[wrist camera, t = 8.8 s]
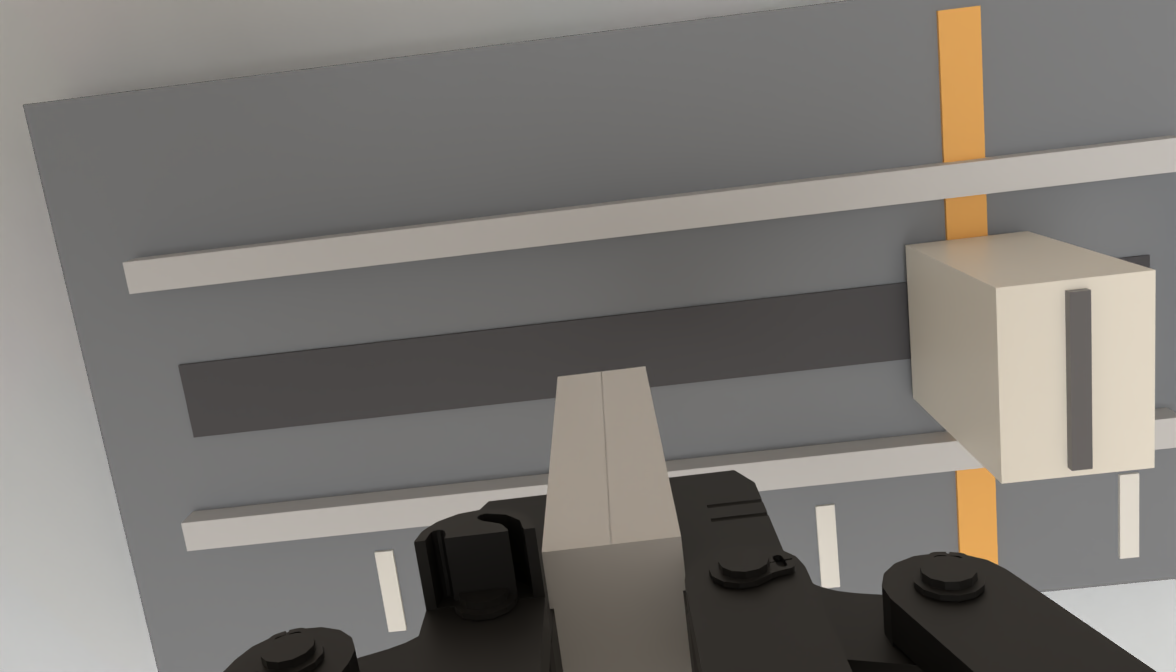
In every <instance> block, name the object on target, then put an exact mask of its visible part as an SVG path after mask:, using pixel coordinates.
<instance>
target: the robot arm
mask: <svg viewBox="0 0 1176 672" xmlns="http://www.w3.org/2000/svg"><path fill="white" fill-rule="evenodd" d="M414 546H415V551H416V557H417V563H418V568H419V574H420V579H421V585H422V590H423V596H424V601H425V607H426V613H425V616H424V619H423V623H422V626H421V630H420V633H419V636H418V637H416V638H414V639H412V640H410V641H408V642H406V643H403V644H401V645H398V646H395V647H392V648H389V649H387V650H383V651H380V652H376V653H373V654H370V655H366V656H363V657H359V658H357V655H356V650H355V646H354V643H353V639H352V637H351V636H349V635H347V634H346V633H344V632H343V631H341V630H338V629H331V628H325V627H316V628H296V629H291V630H289V632H286V631H284V632H281V633H277V634H275V635H273V636H271V637H270V638H269V639H267V640H265V641H263V642H261V643H259V644H256V645H254V646H252V647H251V648H250V649H248V650H247V651H246V652H244V653H243V654H242V655H241V656H239V657H238V658H237V659H235V660H234V661H233V662H232V663H231V664H230V665H229V666H228V667H227V668H226V669H225V670H224V671H223V672H1156V671H1155V670H1153V669H1152V668H1150V667H1149V666H1147V665H1146V664H1144V663H1143V662H1141V661H1140V660H1139V659H1137V658H1136V657H1134V656H1133V655H1131V654H1130V653H1128V652H1127V651H1125V650H1124V649H1122V648H1121V647H1120V646H1118V645H1117V644H1115V643H1114V642H1112V641H1111V640H1109V639H1108V638H1106V637H1105V636H1103V635H1102V634H1101V633H1099V632H1098V631H1096V630H1095V629H1093V628H1092V627H1090V626H1089V625H1087V624H1086V623H1084V622H1083V621H1082V620H1080V619H1079V618H1077V617H1076V616H1074V615H1073V614H1071V613H1070V612H1068V611H1067V610H1065V609H1064V608H1063V607H1061V606H1060V605H1058V604H1057V603H1055V602H1054V601H1052V600H1051V599H1049V598H1048V597H1046V596H1045V595H1044V594H1042V593H1041V592H1039V591H1038V590H1036V589H1035V588H1033V587H1032V586H1030V585H1029V584H1027V583H1026V582H1025V581H1023V580H1022V579H1020V578H1019V577H1017V576H1016V575H1014V574H1013V573H1011V572H1010V571H1008V570H1007V569H1005V568H1003V567H1001V566H999V565H997V564H995V563H993V562H991V561H989V560H986V559H982V558H977V557H973V556H969V555H966V554H964V553H958V552H949V553H946V552H932V553H930V554H925V555H918V556H912V557H910V558H907V559H905V560H902V561H899V562H897V563H895V564H893V565H892V566H891V567H890V568H889V569H888V570H887V571H886V572H885V573H884V574H883V581H882V595H880V594H863V593H851V592H843V591H836V590H832V589H828V588H824V587H820V586H817V585H815V584H813V582H812V580H811V578H810V576H809V574H808V571H807V569H806V567H805V566H804V564H803V563H802V562H801V561H800V560H799V559H798V558H797V557H796V556H794V555H792V554H790V553H788V552H785V551H783V548H782V546H781V543H780V541H779V539H778V536H777V534H776V532H775V529H774V527H773V525H772V522H771V520H770V517H769V515H768V514H767V510H766V508H765V506H764V503H763V502H762V498H761V496H760V494H759V491H758V489H757V487H756V484H755V482H753V481H752V480H750V479H748V478H747V477H745V476H743V475H742V474H740V473H738V472H737V471H735V470H729V471H721V472H712V473H704V474H695V475H687V476H678V477H668V472H667V467H666V462H665V458H664V453H663V448H662V443H661V439H660V434H659V429H658V424H657V420H656V415H655V410H654V405H653V401H652V396H651V391H650V386H649V382H648V377H647V372H646V367H645V366H643V367H635V368H626V369H618V370H610V371H601V372H593V373H585V374H576V375H568V376H560V377H558V379H557V390H556V401H555V412H554V423H553V434H552V445H551V455H550V466H549V477H548V488H547V495H538V496H530V497H521V498H512V499H504V500H495V501H488V502H487V503H486V504H485V505H484V506H483V507H482V508H481V509H480V510H476V511H471V512H466V513H460V514H457V515H454V516H451V517H448V518H446V519H443V520H440V521H438V522H436V523H434V524H433V525H431V526H430V527H428V528H426V529H425V530H423V531H422V532H421V533H420V535H419V536H418V537H417V538H416V540H415V541H414Z"/></svg>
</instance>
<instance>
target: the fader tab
mask: <svg viewBox="0 0 1176 672" xmlns="http://www.w3.org/2000/svg"><path fill="white" fill-rule="evenodd" d="M905 247H906V267H907V287H908V307H909V327H910V347H911V367H912V387H913V399H914V400H915V401H916V402H918V403H919V404H920V405H921V406H922V407H923V408H924V409H925V410H926V411H927V412H928V413H929V414H930V415H931V416H932V417H933V418H934V419H935V420H936V421H937V422H938V423H939V424H940V425H941V426H942V427H943V428H944V429H946V430H947V431H948V432H949V433H950V434H951V435H952V436H953V437H954V438H955V439H956V440H957V441H958V442H959V443H960V444H961V445H962V446H963V447H964V448H965V449H966V450H967V451H968V452H969V453H970V454H971V455H972V456H974V457H975V458H976V459H977V460H978V461H979V462H980V463H981V464H982V465H983V466H984V467H985V468H986V469H987V470H988V471H989V472H990V473H991V474H992V475H993V476H994V477H995V478H996V479H997V480H998V481H999V482H1000V483H1002V484H1004V483H1014V482H1023V481H1033V480H1042V479H1052V478H1062V477H1071V476H1081V475H1091V474H1100V473H1110V472H1119V471H1129V470H1139V469H1148V468H1155V293H1156V270H1154V269H1151V268H1147V267H1144V266H1141V265H1138V264H1134V263H1131V262H1128V261H1124V260H1121V259H1118V258H1115V257H1111V256H1108V255H1105V254H1101V253H1098V252H1095V251H1091V250H1088V249H1085V248H1082V247H1078V246H1075V245H1072V244H1068V243H1065V242H1062V241H1059V240H1055V239H1052V238H1049V237H1045V236H1042V235H1039V234H1035V233H1032V232H1029V231H1023V232H1014V233H1006V234H997V235H988V236H980V237H971V238H962V239H954V240H945V241H936V242H928V243H919V244H910V245H905Z"/></svg>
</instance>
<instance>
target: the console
mask: <svg viewBox="0 0 1176 672" xmlns="http://www.w3.org/2000/svg"><path fill="white" fill-rule="evenodd" d="M23 108H24V112H25V116H26V120H27V124H28V128H29V133H30V137H31V141H32V145H33V149H34V154H35V158H36V162H37V166H38V170H39V175H40V179H41V183H42V187H43V191H44V196H45V200H46V204H47V208H48V212H49V216H50V221H51V225H52V229H53V233H54V237H55V242H56V246H57V250H58V254H59V258H60V263H61V267H62V271H63V275H64V279H65V284H66V288H67V292H68V296H69V300H70V304H71V309H72V313H73V317H74V321H75V325H76V330H77V334H78V338H79V342H80V346H81V351H82V355H83V359H84V363H85V367H86V371H87V376H88V380H89V384H90V388H91V392H92V397H93V401H94V405H95V409H96V413H97V418H98V422H99V426H100V430H101V434H102V439H103V443H104V447H105V451H106V455H107V459H108V464H109V468H110V472H111V476H112V480H113V485H114V489H115V493H116V497H117V501H118V506H119V510H120V514H121V518H122V522H123V527H124V531H125V535H126V539H127V543H128V547H129V552H130V556H131V560H132V564H133V568H134V573H135V577H136V581H137V585H138V589H139V594H140V598H141V602H142V606H143V610H144V614H145V619H146V623H147V627H148V631H149V635H150V640H151V644H152V648H153V652H154V656H155V661H156V665H157V669H158V672H223V671H224V670H225V669H226V668H227V667H228V666H229V665H230V664H231V663H232V662H233V661H234V660H235V659H237V658H238V657H239V656H241V655H242V654H243V653H244V652H246V651H247V650H248V649H250V648H251V647H252V646H254V645H256V644H259V643H261V642H263V641H265V640H267V639H269V638H270V637H271V636H273V635H275V634H277V633H281V632H284V631H286V632H289V630H291V629H296V628H316V627H325V628H331V629H338V630H341V631H343V632H344V633H346V634H347V635H349V636H351V637H352V639H353V643H354V646H355V650H356V655H357V658H359V657H363V656H366V655H370V654H373V653H376V652H380V651H383V650H387V649H389V648H392V647H395V646H398V645H401V644H403V643H406V642H408V641H410V640H412V639H414V638H416V637H418V636H419V633H420V630H421V626H422V623H423V619H424V616H425V613H426V607H425V601H424V596H423V590H422V585H421V579H420V574H419V568H418V563H417V557H416V551H415V546H414V541H415V540H416V538H417V537H418V536H419V535H420V533H421V532H422V531H423V530H425V529H426V528H428V527H430V526H431V525H433V524H434V523H436V522H438V521H440V520H443V519H446V518H448V517H451V516H454V515H457V514H460V513H466V512H471V511H476V510H480V509H481V508H482V507H483V506H484V505H485V504H486V503H487V502H488V501H495V500H504V499H512V498H521V497H530V496H538V495H547V488H548V477H549V466H550V455H551V445H552V434H553V423H554V412H555V401H556V390H557V379H558V377H560V376H568V375H576V374H585V373H593V372H601V371H610V370H618V369H626V368H635V367H643V366H645V367H646V372H647V377H648V382H649V386H650V391H651V396H652V401H653V405H654V410H655V415H656V420H657V424H658V429H659V434H660V439H661V443H662V448H663V453H664V458H665V462H666V467H667V472H668V477H678V476H687V475H695V474H704V473H712V472H721V471H729V470H735V471H737V472H738V473H740V474H742V475H743V476H745V477H747V478H748V479H750V480H752V481H753V482H755V484H756V487H757V489H758V491H759V494H760V496H761V498H762V502H763V503H764V506H765V508H766V510H767V514H768V515H769V517H770V520H771V522H772V525H773V527H774V529H775V532H776V534H777V536H778V539H779V541H780V543H781V546H782V548H783V551H785V552H788V553H790V554H792V555H794V556H796V557H797V558H798V559H799V560H800V561H801V562H802V563H803V564H804V566H805V567H806V569H807V571H808V574H809V576H810V578H811V580H812V582H813V584H815V585H817V586H820V587H824V588H828V589H832V590H836V591H843V592H851V593H863V594H880V595H882V581H883V574H884V573H885V572H886V571H887V570H888V569H889V568H890V567H891V566H892V565H893V564H895V563H897V562H899V561H902V560H905V559H907V558H910V557H912V556H918V555H925V554H930V553H932V552H946V553H949V552H958V553H964V554H966V555H969V556H973V557H977V558H982V559H986V560H989V561H991V562H993V563H995V564H997V565H999V566H1001V567H1003V568H1005V569H1007V570H1008V571H1010V572H1011V573H1013V574H1014V575H1016V576H1017V577H1019V578H1020V579H1022V580H1023V581H1025V582H1026V583H1027V584H1029V585H1030V586H1032V587H1033V588H1035V589H1036V590H1038V591H1039V592H1046V591H1057V590H1067V589H1077V588H1087V587H1097V586H1107V585H1117V584H1127V583H1137V582H1147V581H1158V580H1168V579H1176V0H848V1H840V2H832V3H824V4H816V5H808V6H800V7H793V8H785V9H777V10H769V11H761V12H753V13H745V14H737V15H729V16H721V17H713V18H705V19H698V20H690V21H682V22H674V23H666V24H658V25H650V26H642V27H634V28H626V29H618V30H610V31H602V32H595V33H587V34H579V35H571V36H563V37H555V38H547V39H539V40H531V41H523V42H515V43H507V44H500V45H492V46H484V47H476V48H468V49H460V50H452V51H444V52H436V53H428V54H420V55H412V56H405V57H397V58H389V59H381V60H373V61H365V62H357V63H349V64H341V65H333V66H325V67H317V68H310V69H302V70H294V71H286V72H278V73H270V74H262V75H254V76H246V77H238V78H230V79H222V80H215V81H207V82H199V83H191V84H183V85H175V86H167V87H159V88H151V89H143V90H135V91H127V92H119V93H112V94H104V95H96V96H88V97H80V98H72V99H64V100H56V101H48V102H40V103H32V104H24V105H23ZM1023 231H1029V232H1032V233H1035V234H1039V235H1042V236H1045V237H1049V238H1052V239H1055V240H1059V241H1062V242H1065V243H1068V244H1072V245H1075V246H1078V247H1082V248H1085V249H1088V250H1091V251H1095V252H1098V253H1101V254H1105V255H1108V256H1111V257H1115V258H1118V259H1121V260H1124V261H1128V262H1131V263H1134V264H1138V265H1141V266H1144V267H1147V268H1151V269H1154V270H1156V293H1155V468H1148V469H1139V470H1129V471H1119V472H1110V473H1100V474H1091V475H1081V476H1071V477H1062V478H1052V479H1042V480H1033V481H1023V482H1014V483H1004V484H1002V483H1000V482H999V481H998V480H997V479H996V478H995V477H994V476H993V475H992V474H991V473H990V472H989V471H988V470H987V469H986V468H985V467H984V466H983V465H982V464H981V463H980V462H979V461H978V460H977V459H976V458H975V457H974V456H972V455H971V454H970V453H969V452H968V451H967V450H966V449H965V448H964V447H963V446H962V445H961V444H960V443H959V442H958V441H957V440H956V439H955V438H954V437H953V436H952V435H951V434H950V433H949V432H948V431H947V430H946V429H944V428H943V427H942V426H941V425H940V424H939V423H938V422H937V421H936V420H935V419H934V418H933V417H932V416H931V415H930V414H929V413H928V412H927V411H926V410H925V409H924V408H923V407H922V406H921V405H920V404H919V403H918V402H916V401H915V400H914V399H913V387H912V367H911V347H910V327H909V307H908V287H907V267H906V247H905V245H910V244H919V243H928V242H936V241H945V240H954V239H962V238H971V237H980V236H988V235H997V234H1006V233H1014V232H1023Z"/></svg>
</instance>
